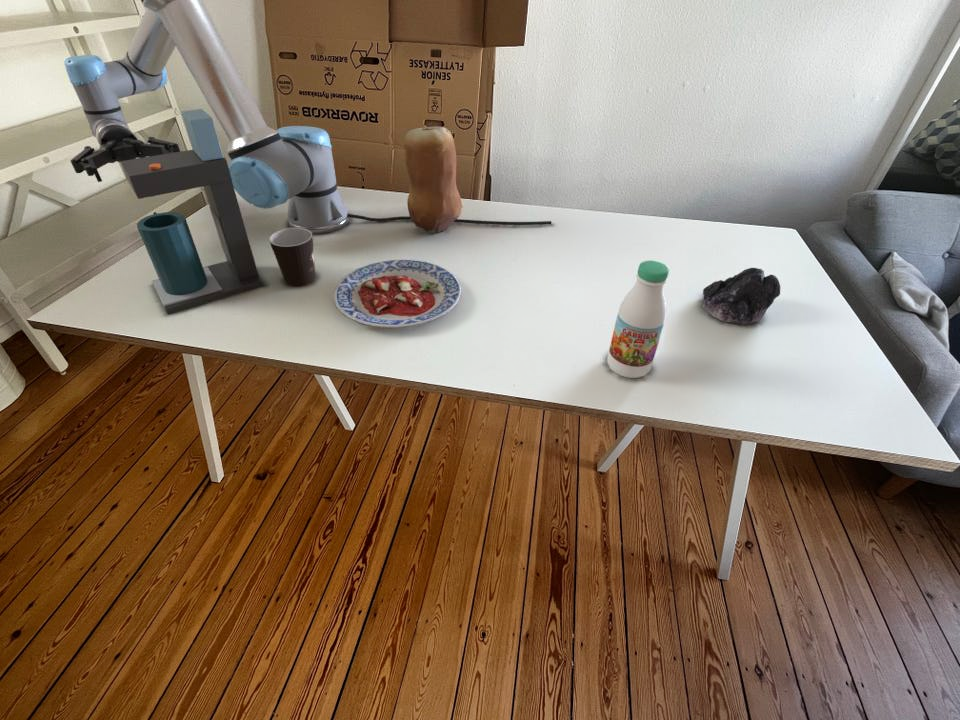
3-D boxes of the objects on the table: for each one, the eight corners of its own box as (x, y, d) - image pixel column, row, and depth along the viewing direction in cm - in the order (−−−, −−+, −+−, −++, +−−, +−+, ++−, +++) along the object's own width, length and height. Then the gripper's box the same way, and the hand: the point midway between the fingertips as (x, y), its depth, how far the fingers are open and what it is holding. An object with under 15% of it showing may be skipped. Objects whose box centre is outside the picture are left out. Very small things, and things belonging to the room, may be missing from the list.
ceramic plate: (331, 340, 97) (329, 327, 95) (338, 271, 116) (336, 259, 114) (468, 330, 100) (469, 317, 98) (453, 264, 120) (453, 253, 118)
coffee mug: (309, 291, 109) (300, 248, 103) (272, 286, 111) (260, 243, 104) (332, 265, 118) (325, 224, 112) (297, 260, 119) (288, 220, 113)
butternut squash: (422, 215, 140) (417, 116, 124) (469, 223, 137) (470, 123, 121) (399, 236, 130) (391, 132, 114) (449, 246, 127) (447, 139, 111)
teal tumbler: (212, 273, 111) (190, 211, 102) (200, 294, 105) (176, 230, 96) (172, 275, 110) (146, 212, 101) (157, 296, 104) (129, 231, 95)
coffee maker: (153, 285, 110) (81, 119, 89) (244, 261, 119) (198, 105, 98) (167, 314, 102) (91, 139, 81) (264, 285, 111) (218, 121, 90)
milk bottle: (601, 352, 96) (622, 255, 83) (642, 351, 96) (669, 254, 84) (613, 380, 90) (638, 279, 77) (656, 378, 90) (688, 278, 78)
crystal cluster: (686, 311, 108) (702, 272, 101) (713, 282, 115) (729, 244, 108) (749, 341, 102) (771, 302, 95) (773, 308, 110) (795, 270, 102)
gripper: (182, 148, 127) (205, 174, 114) (62, 168, 115) (72, 199, 102) (171, 116, 122) (194, 139, 109) (44, 133, 111) (53, 161, 98)
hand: (135, 168), depth 106 cm, fingers open, 13 cm apart
